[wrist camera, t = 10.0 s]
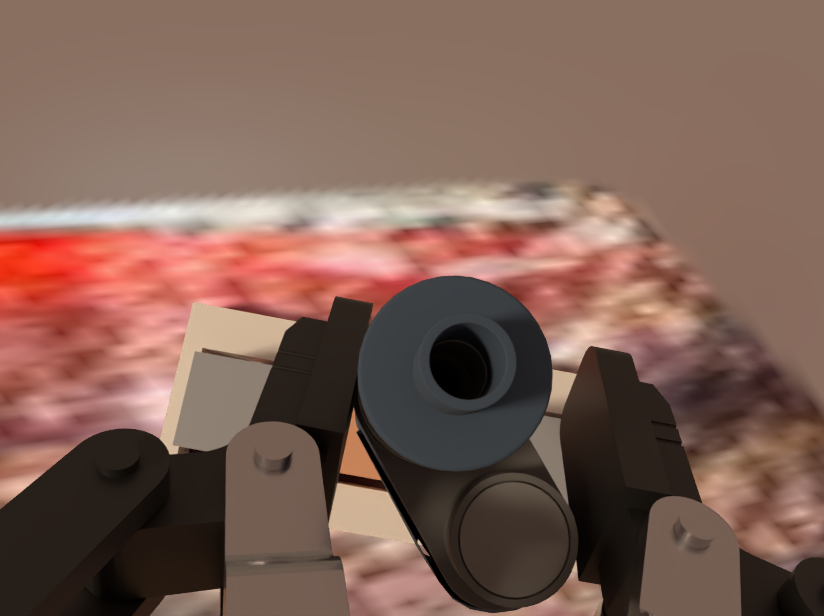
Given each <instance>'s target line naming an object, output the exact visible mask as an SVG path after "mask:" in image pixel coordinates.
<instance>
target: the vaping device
mask: <svg viewBox="0 0 824 616" xmlns="http://www.w3.org/2000/svg"><path fill="white" fill-rule="evenodd" d="M552 378H553V370H552V362H551V355H550V351H549V348H548V344H547V341H546V338H545V336H544V334H543V332H542V330H541V328H540V326H539V324H538V323H537V321H536V320H535V319H534V317H533V316H532V314H531V313H530V312H529V310H528V309H527V308H526V307H525V306H524V305H523V304H522V303H521V302H520V301H519V300H518V299H516V298H515V297H513V296H512V295H511V294H509V293H508V292H506V291H505V290H504V289H502V288H499V287H497V286H495V285H493V284H491V283H489V282H486V281H483V280H479V279H476V278H472V277H463V276H442V277H436V278H431V279H427V280H423V281H421V282H418V283H416V284H414V285H411V286H409V287H407V288H406V289H404V290H403V291H401V292H400V293H398V294H396V295H395V296H394V297H393V298H392V299H390V300H389V301H388V302H387V303H386V304H385V305H384V306H383V307H382V308H381V309H380V311H379V312H378V313H377V315H376V316H375V318H374V319H373V320H372V322H371V324H370V326H369V328H368V330H367V332H366V334H365V336H364V339H363V342H362V346H361V349H360V353H359V362H358V379H357V385H356V390H355V395H354V400H353V406H354V411H355V420H356V425H357V428H358V431H357V432H356V433H357V435H358V437H359V439H360V440H361V442H362V444H363V446H364V448H365V450H366V452H367V454H368V456H369V458H370V459H371V461H372V463H373V465H374V467H375V469H376V471H377V473H378V475H379V476H380V478H381V480H382V482H383V484H384V486H385V488H386V490H387V492H388V493H389V495H390V497H391V499H392V501H393V503H394V505H395V507H396V509H397V510H398V512H399V514H400V516H401V518H402V520H403V522H404V524H405V526H406V527H407V529H408V531H409V533H410V535H411V537H412V539H413V541H414V543H415V544H416V546H417V548H418V549H419V551H420V553H421V554H422V556H423V557H424V559H425V560H426V562H427V563H428V565H429V567H430V568H431V570H432V571H433V573H434V574H435V576H436V578H437V579H438V581H439V582H440V583H441V585H442V586H443V587H444V589H445V590H446V591H447V592H448V594H449V595H450V596H451V597H452V599H454V600H456V601H457V602H459V603H461V604H463V605H464V606H466V607H468V608H469V609H473V610H478V611H483V612H489V613H498V612H506V611H513V610H517V609H520V608H522V607H528V606H531V605H535V604H538V603H540V602H542V601H544V600H546V599H548V598H549V597H551V596H552V595H553V594H555V593H556V592H557V591H558V590H559V589H560V588H561V587H562V586H563V584H564V583H565V582H566V580H567V579H568V577H569V575H570V574H571V572H572V569H573V567H574V564H575V562H576V557H577V552H578V531H577V526H576V522H575V519H574V516H573V513H572V511H571V509H570V507H569V505H568V504H567V502H566V501H565V499H564V498H563V496H562V494H561V493H560V491H559V489H558V487H557V486H556V484H555V482H554V480H553V479H552V477H551V475H550V473H549V472H548V470H547V468H546V467H545V465H544V463H543V461H542V460H541V458H540V456H539V454H538V453H537V451H536V449H535V448H534V446H533V444H532V442H531V441H530V439H529V438H530V437H531V436H532V435H533V433H534V432H535V430H536V429H537V427H538V426H539V424H540V423H541V421H542V419H543V416H544V414H545V412H546V410H547V407H548V404H549V400H550V395H551V391H552ZM418 540H419V541H420V543H421V544H422V545H423V547H424V548H425V550H426V551H427V552H428V554H429V555H430V556H427V555H425V554H424V553H423V552H422V550H421V548H420V546H419V545H418V543H417V541H418Z"/></svg>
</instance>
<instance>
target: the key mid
mask: <svg viewBox="0 0 824 616" xmlns="http://www.w3.org/2000/svg"><path fill="white" fill-rule="evenodd" d="M357 431H358V428H357V425H356V420H355V411H354V408H353V413H352V418H351V422H350V427H349V432H348V436H347V441H346V446H345V450H344V455H343V459H342V464H341V469H340V473H343V474H348V475H354V476H360V477H365V478H371V479H376V480H381V478H380V476H379V475H378V473H377V471H376V469H375V467H374V465H373V463H372V461H371V459H370V458H369V456H368V454H367V452H366V450H365V448H364V446H363V444H362V442H361V440H360V439H359V437H358V435H357V433H356V432H357Z"/></svg>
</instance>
